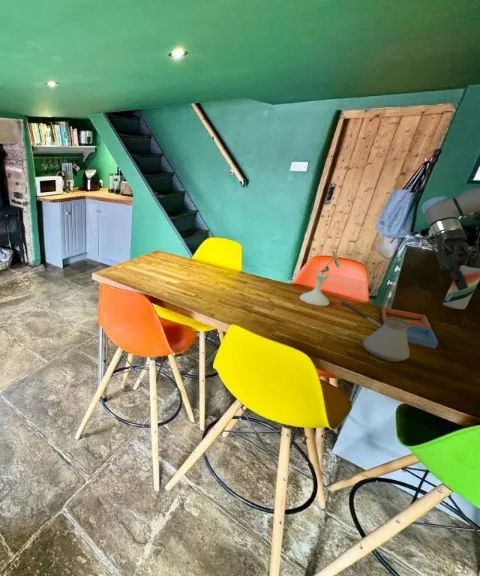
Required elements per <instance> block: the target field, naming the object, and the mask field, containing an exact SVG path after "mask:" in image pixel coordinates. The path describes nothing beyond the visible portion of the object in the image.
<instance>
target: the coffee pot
mask: <svg viewBox="0 0 480 576" xmlns="http://www.w3.org/2000/svg"><path fill="white" fill-rule="evenodd" d="M341 304H342V305H343V306H345V307H346V308H348V309H350V310H351V311H352V312H353V313H355V314H357V315H358V316H361V317H362V318H364V319H366V320H368V321H369V322H370V323H372V324H374V325H375V326H377V327H378V329H376V330H375V331H374V332H373V333H371V334H370V335H368V336H367V337H366V338H365V339H364V340H363V341H362V345H363V347H364V349H365V351H367V353H369V354H370V355H371V356H373V357H375V358H378V359H381V360H383V361H386V362H387V361H388V362H402V361H403V362H404V361H406V360H407V359H409V357H410V356H411V355H410V347H409V342H408V341H407V334H406V330H407V328H409V327H411V324H410V323H409V322H407V321H404V320H405V319H402V318H399V317H392V316H387V317H385V318H384V321H385V324H384V325H383V324H381V323H379V322H378V321H376V320H374V319H373V318H371V317H369V316H368V315H367V314H365V313H363V312H362V311H361V310H360V309H358V308H356V307H354V306H352V305H350V303H346V302H345V301H343V300H341V301H340V302H339V303H338V304H337V306H340V305H341Z"/></svg>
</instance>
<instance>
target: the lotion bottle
mask: <svg viewBox="0 0 480 576" xmlns="http://www.w3.org/2000/svg"><path fill="white" fill-rule="evenodd" d="M457 271H461V272H462V274H463V277H464V279H465V281H466V283H467V285H468V288H466V289H463V290H461V291H458V289H457V286H456V284H455V282H454V281H453V280H452V282H451V284H450V286H449V289H448V291H447V293H446V294H445V297H444V299H443V301H442V304H443V306H445V307H447V308H450V309H451V308H452V309H457V310H464V309H466V307H468V304H469V302H470V300H471V299H472V296H473V294H474V292H475V290H476V288H477V284H478V282H479V280H480V255H477V254H470V255H469V257H468V259H467V261H466V264H465V263H464V264H463V265H460V266H459V267H458V270H457Z"/></svg>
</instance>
